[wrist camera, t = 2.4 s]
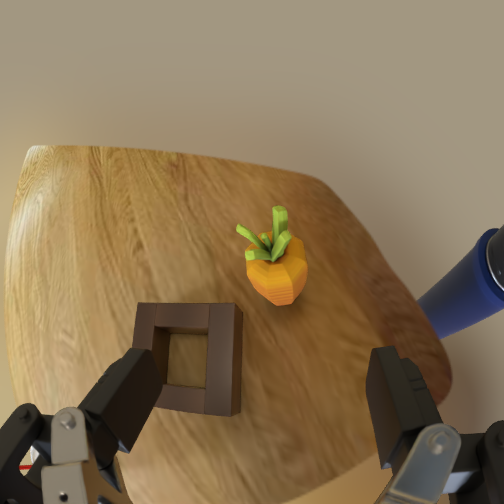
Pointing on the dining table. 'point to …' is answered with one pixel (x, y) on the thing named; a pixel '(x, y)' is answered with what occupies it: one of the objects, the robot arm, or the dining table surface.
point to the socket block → (218, 353)
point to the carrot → (276, 260)
